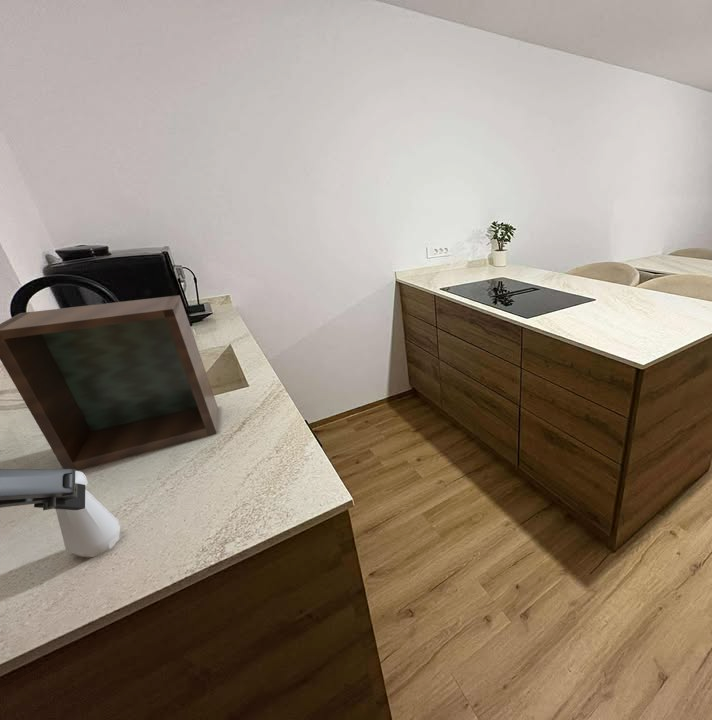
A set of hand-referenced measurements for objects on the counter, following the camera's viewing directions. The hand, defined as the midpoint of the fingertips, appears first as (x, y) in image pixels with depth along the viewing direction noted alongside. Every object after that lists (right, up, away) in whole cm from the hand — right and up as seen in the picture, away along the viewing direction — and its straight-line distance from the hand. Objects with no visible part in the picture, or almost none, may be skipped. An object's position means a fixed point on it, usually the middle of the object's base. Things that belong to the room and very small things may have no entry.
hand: (0, 517), depth 41 cm
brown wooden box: (-19, 0, +41) cm, 45 cm away
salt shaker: (-4, -11, +15) cm, 19 cm away
